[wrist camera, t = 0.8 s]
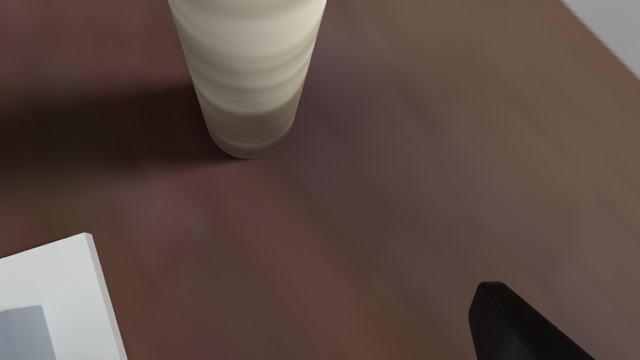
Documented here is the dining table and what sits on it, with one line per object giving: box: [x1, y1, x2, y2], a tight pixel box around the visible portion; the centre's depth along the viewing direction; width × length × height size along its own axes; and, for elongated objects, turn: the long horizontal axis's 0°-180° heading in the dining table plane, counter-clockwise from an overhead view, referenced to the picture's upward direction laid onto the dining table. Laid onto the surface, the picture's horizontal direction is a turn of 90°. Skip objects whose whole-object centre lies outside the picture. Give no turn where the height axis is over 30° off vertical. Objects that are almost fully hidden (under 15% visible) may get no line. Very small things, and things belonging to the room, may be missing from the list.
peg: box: [168, 0, 326, 159], centre depth 17 cm, size 4×4×14 cm
